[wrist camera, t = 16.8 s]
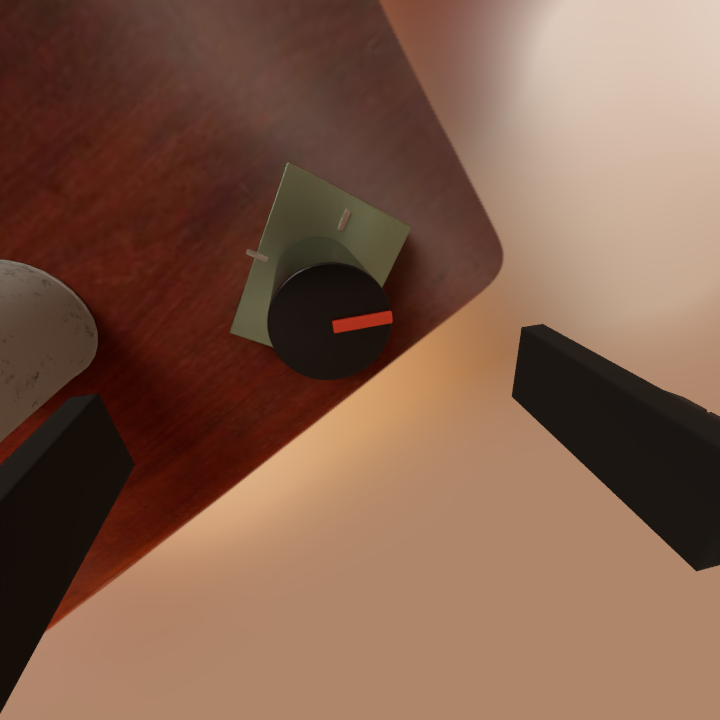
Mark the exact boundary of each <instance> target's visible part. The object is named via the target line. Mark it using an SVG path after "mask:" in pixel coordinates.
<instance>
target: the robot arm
mask: <svg viewBox="0 0 720 720" xmlns="http://www.w3.org/2000/svg"><path fill="white" fill-rule="evenodd" d="M515 371H516V372H515V378H514V384H513V392H512V397H513V398H514V399H515V400H516V401H517V402H518V403H519V404H521V406H522V407H523V408H525V409H526V410H527V411H528V412H529V413H530V414H531V415H532V416H533V417H534V418H535V419H536V420H537V421H538V422H539V423H540V424H541V425H542V426H544V427H545V428H546V429H547V430H548V431H549V432H550V433H551V434H552V435H553V436H554V437H555V438H556V439H557V440H558V441H559V442H560V443H561V444H563V445H564V446H565V447H566V448H567V449H568V450H569V451H570V452H571V453H572V454H573V455H574V456H575V457H576V458H577V459H578V460H579V461H580V462H582V463H583V464H584V465H585V466H586V467H587V468H588V469H589V470H590V471H591V472H592V473H593V474H594V475H595V476H596V477H597V478H598V479H600V480H601V481H602V482H603V483H604V484H605V485H606V486H607V487H608V488H609V489H610V490H611V491H612V492H613V493H614V494H616V496H617V497H619V498H620V499H621V500H622V501H623V502H624V503H625V504H626V505H627V506H628V507H629V508H630V509H631V510H632V511H633V512H634V513H635V514H636V515H638V516H639V517H640V518H641V519H642V520H643V521H644V522H645V523H646V524H647V525H648V526H649V527H650V528H651V529H652V530H653V531H654V532H655V533H656V534H658V535H659V536H660V537H661V538H662V539H663V540H664V541H665V542H666V543H667V544H668V545H669V546H670V547H671V548H672V549H674V550H675V551H676V552H677V553H678V554H679V555H680V556H681V557H682V558H683V559H684V560H685V561H686V562H687V563H688V564H689V565H690V566H691V567H693V569H695V570H696V571H699V570H703V569H706V568H710V567H714V566H718V565H720V416H718V415H716V414H714V413H712V412H709V413H708V412H707V410H706V409H705V408H703V407H701V406H699V405H697V404H695V403H693V402H691V401H690V400H688V399H686V398H684V397H682V396H679V395H676V394H673V393H670V392H667V391H665V390H662V389H660V388H658V387H657V386H655V385H653V384H651V383H649V382H647V381H646V380H644V379H642V378H640V377H638V376H636V375H635V374H633V373H631V372H629V371H627V370H626V369H624V368H622V367H620V366H618V365H616V364H615V363H613V362H611V361H609V360H607V359H605V358H604V357H602V356H600V355H598V354H596V353H595V352H593V351H591V350H589V349H587V348H585V347H584V346H582V345H580V344H578V343H576V342H575V341H573V340H571V339H569V338H567V337H565V336H563V335H562V334H560V333H558V332H556V331H554V330H553V329H551V328H549V327H547V326H545V325H544V324H541V325H533V326H527V327H522V329H521V336H520V343H519V350H518V357H517V364H516V370H515ZM134 466H135V464H134V462H133V460H132V458H131V456H130V454H129V452H128V450H127V448H126V446H125V444H124V442H123V440H122V438H121V437H120V435H119V433H118V431H117V429H116V427H115V425H114V423H113V421H112V419H111V417H110V415H109V413H108V411H107V409H106V407H105V405H104V403H103V401H102V399H101V397H100V395H99V393H96V394H90V395H83V396H77V397H70V398H69V399H68V400H67V401H65V402H64V403H63V404H62V405H61V406H60V407H59V408H58V409H57V410H56V411H55V412H54V413H53V414H52V415H51V416H50V417H49V418H48V419H47V420H46V421H45V422H44V423H43V424H42V425H41V426H40V427H39V428H38V429H37V430H36V431H35V432H34V433H33V434H32V435H31V436H30V437H29V438H28V439H27V440H26V441H25V442H24V443H23V444H22V445H21V446H20V447H19V448H18V449H17V450H16V451H15V452H14V453H13V454H12V455H10V456H9V457H8V458H7V459H6V460H5V461H4V462H3V463H2V464H1V465H0V713H1V711H2V709H3V707H4V706H5V704H6V702H7V700H8V698H9V696H10V694H11V693H12V691H13V689H14V687H15V685H16V684H17V682H18V680H19V678H20V676H21V674H22V672H23V671H24V669H25V667H26V665H27V663H28V661H29V660H30V657H31V656H32V654H33V652H34V650H35V648H36V646H37V645H38V643H39V641H40V639H41V637H42V635H43V634H44V632H45V630H46V628H47V626H48V624H49V623H50V621H51V619H52V617H53V615H54V613H55V612H56V610H57V608H58V606H59V604H60V602H61V600H62V599H63V597H64V595H65V593H66V591H67V589H68V588H69V586H70V584H71V582H72V580H73V578H74V576H75V575H76V573H77V571H78V569H79V567H80V565H81V564H82V562H83V560H84V558H85V556H86V554H87V552H88V551H89V549H90V547H91V545H92V543H93V541H94V540H95V538H96V536H97V534H98V532H99V530H100V529H101V527H102V525H103V523H104V521H105V519H106V517H107V516H108V514H109V512H110V510H111V508H112V506H113V505H114V503H115V501H116V499H117V497H118V495H119V493H120V492H121V490H122V488H123V486H124V484H125V482H126V481H127V479H128V477H129V475H130V473H131V471H132V469H133V468H134Z"/></svg>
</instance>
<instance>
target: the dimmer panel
mask: <svg viewBox="0 0 720 720" xmlns="http://www.w3.org/2000/svg"><path fill="white" fill-rule="evenodd" d="M410 230H411V226H410V225H408V224H406V223H404V222H402V221H400V220H398V219H396V218H394V217H392V216H391V215H389V214H387V213H385V212H383V211H381V210H379V209H377V208H375V207H373V206H371V205H370V204H368V203H366V202H364V201H362V200H360V199H358V198H356V197H354V196H352V195H350V194H349V193H347V192H345V191H343V190H341V189H339V188H337V187H335V186H333V185H331V184H329V183H328V182H326V181H324V180H322V179H320V178H318V177H316V176H314V175H312V174H310V173H308V172H307V171H305V170H303V169H301V168H299V167H297V166H295V165H293V164H291V163H289V162H288V163H287V165H286V168H285V171H284V174H283V177H282V180H281V183H280V186H279V189H278V191H277V194H276V197H275V200H274V203H273V206H272V209H271V212H270V215H269V218H268V221H267V224H266V227H265V230H264V232H263V235H262V238H261V241H260V244H259V247H258V250H257V252H255V251H253V250H250V249H247V252H246V254H247V255H250V256H252V257H254V258H255V259H254V262H253V265H252V268H251V270H250V273H249V276H248V279H247V282H246V285H245V288H244V291H243V294H242V297H241V300H240V303H239V306H238V309H237V311H236V314H235V317H234V320H233V323H232V326H231V329H230V333H232V334H235V335H238V336H241V337H244V338H247V339H250V340H253V341H256V342H259V343H262V344H265V345H268V346H271V347H273V346H272V344H271V341H270V338H269V334H268V329H267V317H268V310H269V304H270V299H271V294H272V288H273V283H274V278H275V272H276V268H277V265H278V262H279V260H280V258H281V256H282V255H283V254H284V252H285V251H286V250H287V249H288V248H289V247H290V246H292V245H293V244H294V243H296V242H298V241H300V240H302V239H305V238H309V237H325V238H330V239H333V240H335V241H337V242H339V243H341V244H342V245H344V246H345V247H346V248H347V249H348V250H349V251H350V252H351V253H352V254H353V255H354V256H355V258H356V259H357V260H358V261H359V262H360V263H361V264H362V265H363V267H364V268H365V269H366V270H367V271H368V272H369V273H370V274H371V275H372V277H373V278H374V279H375V280H376V281H377V282H378V283H379V285H380V286H381V287H383V285H384V283H385V281H386V279H387V277H388V275H389V273H390V271H391V269H392V267H393V264H394V262H395V260H396V258H397V256H398V254H399V252H400V250H401V248H402V246H403V244H404V242H405V240H406V238H407V236H408V234H409V232H410Z"/></svg>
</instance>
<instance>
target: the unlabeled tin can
mask: <svg viewBox="0 0 720 720" xmlns="http://www.w3.org/2000/svg"><path fill="white" fill-rule="evenodd" d="M97 347H98V331H97V328H96V324H95V321H94V318H93V316H92V315H91V313H90V311H89V309H88V308H87V306H86V304H85V303H84V302H83V301H82V300H81V299H80V297H79V296H78V295H77V294H76V293H75V292H74V291H73V290H72V289H70V288H69V287H68V286H67V285H65V284H64V283H63V282H62V281H61V280H59V279H57V278H55V277H54V276H52V275H50V274H48V273H47V272H45V271H43V270H40V269H38V268H35V267H32V266H30V265H27V264H24V263H19V262H14V261H9V260H0V442H1V441H2V440H3V439H4V438H5V437H7V436H8V435H9V434H10V433H11V432H12V431H13V430H14V429H16V428H17V427H18V426H19V425H20V424H21V423H22V422H24V421H25V420H26V419H27V418H28V417H29V416H30V415H32V414H33V413H34V412H35V411H36V410H37V409H38V408H39V407H41V406H42V405H43V404H44V403H45V402H46V401H47V400H49V399H50V398H51V397H52V396H53V395H54V394H55V393H57V392H58V391H59V390H60V389H61V388H62V387H63V386H64V385H66V384H67V383H68V382H69V381H70V380H71V379H72V378H74V377H75V376H77V375H79V374H80V373H81V372H82V371H83V370H85V369H86V368H87V367H88V366H89V365H90V363H91V362H92V360H93V358H94V357H95V354H96V351H97Z"/></svg>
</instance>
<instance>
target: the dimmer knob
mask: <svg viewBox="0 0 720 720" xmlns="http://www.w3.org/2000/svg"><path fill="white" fill-rule="evenodd" d="M392 323H393V319H392V312H391V307H390V304H389V300H388V298H387V296H386V294H385V292H384V290H383V289H382V287H381V286H380V285H379V283H378V282H377V281H376V280H375V279H374V278H373V277H372V275H371V274H370V273H369V272H368V271H367V270H366V269H365V268H364V267H363V265H362V264H361V263H360V262H359V261H358V260H357V259H356V258H355V256H354V255H353V254H352V253H351V252H350V251H349V250H348V249H347V248H346V247H345V246H344V245H342V244H341V243H339V242H337V241H335V240H333V239H330V238H325V237H309V238H305V239H302V240H300V241H298V242H296V243H294V244H293V245H292V246H290V247H289V248H288V249H287V250H286V251H285V252H284V254H283V255H282V256H281V258H280V260H279V262H278V265H277V268H276V272H275V278H274V283H273V288H272V294H271V299H270V304H269V310H268V317H267V329H268V334H269V338H270V341H271V344H272V346H273V348H274V350H275V352H276V353H277V355H278V356H279V357H280V359H281V360H282V361H283V362H284V363H285V364H286V365H288V366H289V367H290V368H291V369H293V370H295V371H296V372H298V373H300V374H302V375H304V376H307V377H310V378H314V379H320V380H336V379H342V378H346V377H349V376H352V375H354V374H356V373H358V372H360V371H362V370H364V369H365V368H367V367H368V366H369V365H370V364H371V363H373V362H374V361H375V360H376V358H377V357H378V356H379V355H380V353H381V352H382V351H383V349H384V347H385V345H386V343H387V341H388V338H389V335H390V331H391V325H392Z"/></svg>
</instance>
